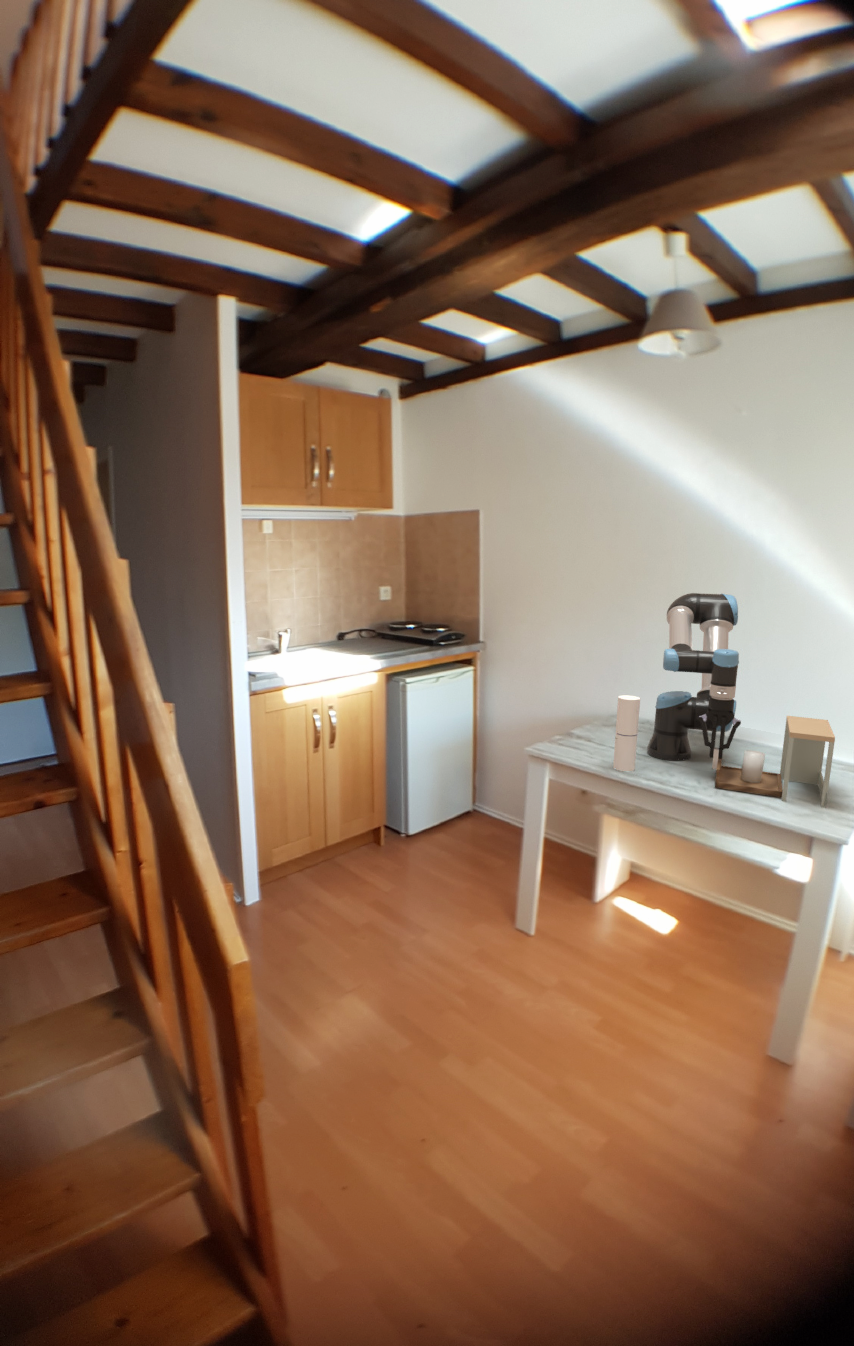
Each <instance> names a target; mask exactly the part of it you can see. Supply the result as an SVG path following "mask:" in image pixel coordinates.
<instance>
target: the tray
mask: <svg viewBox="0 0 854 1346" xmlns="http://www.w3.org/2000/svg"><path fill="white" fill-rule="evenodd" d="M722 760H723V758H722V759H718V764H717V769H715V770H716V772H715V780H714V788H717V789H718V788H719V789H724V790H729V791H737V792H742V793H748V794H749V793H750V794H756V795H762V796H769V797H775V798H781V799H782V791H783V782H782V781H783V780H781V774H780V773H776V772H769V771H763V772H762V778H761V782H760V783H750V782H746V781H744V780H742V779H741V778H740V777H741V771H742V767H734V766H727V765H722V762H723V761H722Z"/></svg>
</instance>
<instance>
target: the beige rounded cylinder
mask: <svg viewBox="0 0 854 1346" xmlns="http://www.w3.org/2000/svg"><path fill="white" fill-rule="evenodd" d="M743 753H744V754H743V759H742V765H741V768H742V771H741V777H740V778H741V779H742V780H744V781H746V782H750V783H760V782H761V778H762V772H764V764H765V758H766V754H765V753H764V752H762V751H758V750H754V749H753V750H752V749H750V750H749V749H747V750H746V749H745V750H744V752H743Z"/></svg>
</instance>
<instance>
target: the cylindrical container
mask: <svg viewBox="0 0 854 1346" xmlns="http://www.w3.org/2000/svg"><path fill="white" fill-rule="evenodd" d="M640 707H641V698H640V696H635V695H628V694H627V695H626V694H624V695H618V697H617V709H616V721H615V722H616V725H615V735H614V736H615V738H614V752H613V762H612V763H613V766H612V767H614V768H616V769H617V770H616V771H618V770H621V771H620V772H622V771H632V772H634V771H635V770H636V759H637V746H638V745H637V743H638V730H639V721H640V720H639V718H640ZM614 768H613V769H614ZM633 770H634V771H633Z"/></svg>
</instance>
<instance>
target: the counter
mask: <svg viewBox="0 0 854 1346" xmlns="http://www.w3.org/2000/svg"><path fill="white" fill-rule="evenodd" d="M826 742H827V743H828V749H827V755H826V763H825V771H824V777H823V774H822V771H823V763H824V754H825V748H826ZM835 742H836V736H835V734H834V732H833V729H832V726H831V724H830V722H829V720H828V719H822V718H821V719H820V718H812V717H804V716H803V717H802V716H793V715H786V719H785V729H784V736H783V744H782V745H783V746H782V753H781V761H780V769H779V774H781V781H783V782H782V790H783V791H782V798H781V801H782V802H786V801H787V799H788V789H789V788H788V787H789V782H793V783H794V782H796V783H804V784H808V785H809V784H810V785H815V786H818V791H819V794H820V798H821V801H820V807H821V808H825V809H826V808H827V801H828V793H829V785H830V777H831V771H832V762H833V758H834V757H833V755H834V748H835Z"/></svg>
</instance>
